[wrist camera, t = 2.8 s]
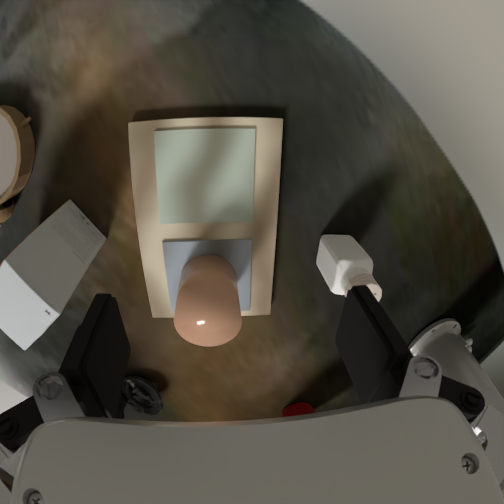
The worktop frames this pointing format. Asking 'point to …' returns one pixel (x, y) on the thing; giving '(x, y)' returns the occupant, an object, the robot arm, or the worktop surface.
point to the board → (207, 202)
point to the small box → (45, 272)
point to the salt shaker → (345, 265)
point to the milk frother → (141, 389)
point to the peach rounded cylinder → (208, 302)
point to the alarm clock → (14, 156)
